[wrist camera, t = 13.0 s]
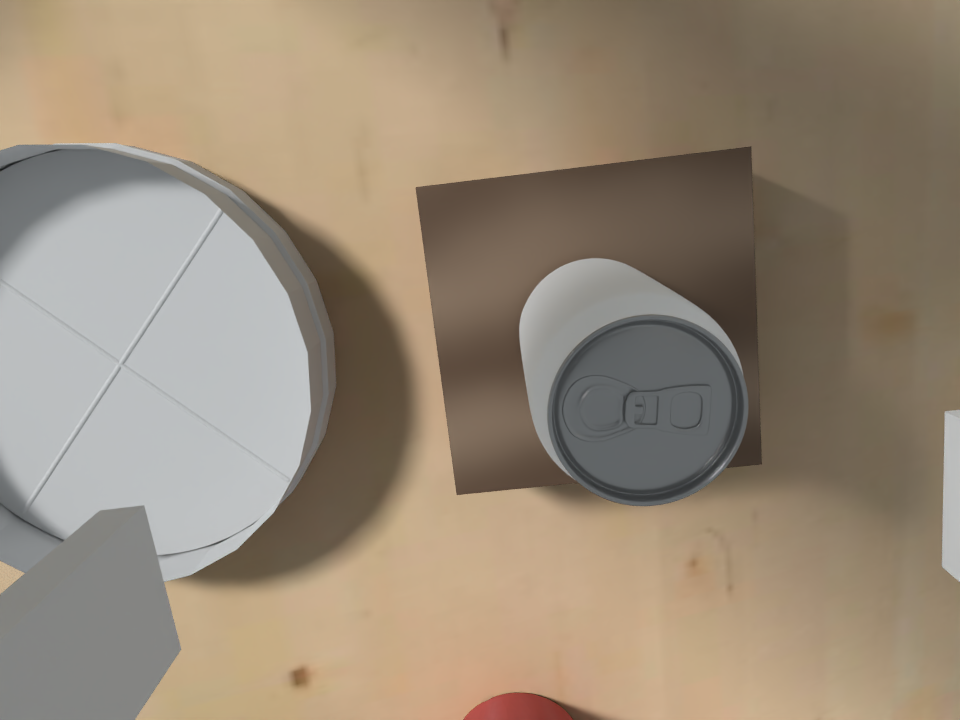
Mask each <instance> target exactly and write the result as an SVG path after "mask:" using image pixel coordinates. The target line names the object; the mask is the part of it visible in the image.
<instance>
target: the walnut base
mask: <svg viewBox="0 0 960 720" xmlns="http://www.w3.org/2000/svg"><path fill="white" fill-rule="evenodd" d="M416 194H417V201H418V209H419V216H420V224H421V231H422V239H423V246H424V254H425V261H426V268H427V276H428V283H429V291H430V298H431V306H432V313H433V321H434V328H435V336H436V343H437V351H438V358H439V366H440V373H441V381H442V388H443V396H444V403H445V411H446V418H447V426H448V433H449V441H450V448H451V456H452V463H453V471H454V478H455V485H456V493H457V495H461V494H471V493H481V492H491V491H501V490H511V489H521V488H531V487H540V486H550V485H560V484H570V483H578V482H577V481H576V480H575V479H573V478H572V477H570V476H569V475H568V474H566V473H565V472H564V471H563V470H562V469H561V468H560V467H559V466H558V465H557V464H556V463H555V462H554V461H553V460H552V458H551V457H550V456H549V454H548V453H547V451H546V450H545V448H544V446H543V445H542V443H541V441H540V439H539V437H538V434H537V432H536V429H535V426H534V423H533V419H532V416H531V411H530V406H529V400H528V394H527V388H526V382H525V376H524V369H523V362H522V355H521V348H520V338H519V325H520V318H521V314H522V311H523V308H524V306H525V304H526V302H527V300H528V298H529V296H530V295H531V293H532V292H533V290H534V289H535V288H536V286H537V285H538V284H539V283H540V282H541V281H542V280H543V279H544V278H545V277H546V276H547V275H549V274H550V273H551V272H553V271H554V270H556V269H558V268H559V267H561V266H563V265H566V264H568V263H571V262H574V261H578V260H582V259H590V258H602V259H610V260H614V261H618V262H621V263H624V264H626V265H629V266H631V267H633V268H635V269H636V270H638V271H640V272H642V273H644V274H645V275H647V276H649V277H650V278H652V279H654V280H656V281H657V282H659V283H661V284H662V285H664V286H666V287H667V288H669V289H671V290H672V291H674V292H675V293H677V294H679V295H680V296H682V297H684V298H685V299H687V300H688V301H690V302H691V303H693V304H695V305H696V306H697V307H699V308H700V309H702V310H703V311H704V312H706V313H707V314H708V315H709V316H710V317H711V318H712V319H714V320H715V321H716V322H717V324H718V325H719V326H720V327H721V328H722V329H723V331H724V332H725V333H726V335H727V336H728V338H729V339H730V341H731V342H732V344H733V346H734V348H735V350H736V352H737V355H738V357H739V360H740V363H741V367H742V371H743V376H744V380H745V383H746V387H747V393H748V419H747V425H746V429H745V433H744V436H743V439H742V441H741V444H740V446H739V448H738V450H737V452H736V454H735V455H734V457H733V458H732V460H731V461H730V463H729V464H728V465H727V467H726V468H729V467H739V466H749V465H759V464H762V459H761V429H760V399H759V369H758V339H757V309H756V279H755V249H754V219H753V189H752V159H751V147H744V148H736V149H727V150H719V151H711V152H703V153H694V154H686V155H678V156H670V157H662V158H653V159H645V160H637V161H629V162H620V163H612V164H604V165H596V166H587V167H579V168H571V169H563V170H554V171H546V172H538V173H530V174H522V175H513V176H505V177H497V178H489V179H480V180H472V181H464V182H456V183H447V184H439V185H431V186H423V187H416Z"/></svg>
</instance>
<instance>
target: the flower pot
mask: <svg viewBox="0 0 960 720" xmlns="http://www.w3.org/2000/svg"><path fill="white" fill-rule="evenodd" d="M463 720H573V719H572V717H571V716H570V715H569V714H568V713H567V712H566V711H565V710H564V709H563V708H562V707H561V706H559V705H558V704H556V703H554V702H553V701H551V700H549V699H546V698H544V697H541V696H538V695H534V694H528V693H508V694H502V695H498V696H496V697H493V698H491V699H489V700H488V701H485V702H482V703H481V704H479V705H477V706H476V707H475V708H474V709H472V710H471V711H470V712H469V713H468V714H467V715H466V717H465V718H464V719H463Z"/></svg>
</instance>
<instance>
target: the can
mask: <svg viewBox="0 0 960 720" xmlns="http://www.w3.org/2000/svg"><path fill="white" fill-rule="evenodd" d="M519 338H520V348H521V355H522V362H523V369H524V376H525V382H526V388H527V394H528V400H529V406H530V411H531V416H532V419H533V423H534V426H535V429H536V432H537V434H538V437H539V439H540V441H541V443H542V445H543V446H544V448H545V450H546V451H547V453H548V454H549V456H550V457H551V458H552V460H553V461H554V462H555V463H556V464H557V465H558V466H559V467H560V468H561V469H562V470H563V471H564V472H565V473H566V474H568V475H569V476H570V477H572V478H573V479H575V480H576V481H577V482H578V483H579V484H581V485H582V486H583V487H585V488H586V489H587V490H589V491H591V492H592V493H594V494H596V495H598V496H600V497H602V498H604V499H607V500H610V501H613V502H616V503H620V504H625V505H632V506H654V505H662V504H667V503H671V502H674V501H677V500H680V499H683V498H685V497H688V496H690V495H692V494H694V493H696V492H697V491H699V490H701V489H702V488H704V487H705V486H707V485H708V484H709V483H710V482H712V481H713V480H714V479H715V478H716V477H717V476H718V475H719V474H720V473H721V472H722V471H723V470H724V469H725V468H726V467H727V465H728V464H729V463H730V461H731V460H732V458H733V457H734V455H735V454H736V452H737V450H738V448H739V446H740V444H741V441H742V439H743V436H744V433H745V429H746V425H747V419H748V393H747V387H746V383H745V380H744V376H743V371H742V367H741V363H740V360H739V357H738V355H737V352H736V350H735V348H734V346H733V344H732V342H731V341H730V339H729V338H728V336H727V335H726V333H725V332H724V331H723V329H722V328H721V327H720V326H719V325H718V324H717V322H716V321H715V320H714V319H712V318H711V317H710V316H709V315H708V314H707V313H706V312H704V311H703V310H702V309H700V308H699V307H697V306H696V305H695V304H693V303H691V302H690V301H688V300H687V299H685V298H684V297H682V296H680V295H679V294H677V293H675V292H674V291H672V290H671V289H669V288H667V287H666V286H664V285H662V284H661V283H659V282H657V281H656V280H654V279H652V278H650V277H649V276H647V275H645V274H644V273H642V272H640V271H638V270H636V269H635V268H633V267H631V266H629V265H626V264H624V263H621V262H618V261H614V260H610V259H602V258H590V259H582V260H578V261H574V262H571V263H568V264H566V265H563V266H561V267H559V268H558V269H556V270H554V271H553V272H551V273H550V274H549V275H547V276H546V277H545V278H544V279H543V280H542V281H541V282H540V283H539V284H538V285H537V286H536V288H535V289H534V290H533V292H532V293H531V295H530V296H529V298H528V300H527V302H526V304H525V306H524V308H523V311H522V314H521V318H520V325H519Z"/></svg>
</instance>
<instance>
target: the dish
mask: <svg viewBox="0 0 960 720" xmlns="http://www.w3.org/2000/svg"><path fill="white" fill-rule="evenodd" d="M335 390H336V367H335V347H334V332H333V329H332V326H331V323H330V320H329V317H328V314H327V310H326V307H325V304H324V301H323V298H322V295H321V292H320V289H319V286H318V283H317V280H316V278H315V277H314V275H313V274H312V272H311V271H310V269H309V267H308V266H307V264H306V263H305V261H304V260H303V258H302V256H301V255H300V253H299V252H298V250H297V249H296V247H295V245H294V244H293V242H292V241H291V239H290V238H289V236H288V234H287V233H286V231H285V230H284V229H283V228H282V227H281V226H280V225H278V224H277V223H276V222H275V221H274V220H273V219H272V218H271V217H270V216H269V215H268V214H267V213H266V212H265V211H264V210H263V209H262V208H261V207H260V206H259V205H258V204H256V203H255V202H254V201H253V200H252V199H251V198H250V197H249V196H248V195H247V194H246V193H245V192H244V191H243V190H241V189H239V188H238V187H236V186H234V185H232V184H230V183H229V182H227V181H225V180H223V179H221V178H220V177H218V176H216V175H214V174H213V173H211V172H209V171H207V170H205V169H204V168H202V167H200V166H198V165H196V164H195V163H193V162H191V161H187V160H183V159H180V158H176V157H172V156H168V155H165V154H161V153H157V152H153V151H150V150H146V149H142V148H138V147H135V146H126V145H120V144H117V143H76V144H53V145H17V146H14V147H10V148H7V149H4V150H1V151H0V561H2V562H4V563H6V564H8V565H10V566H12V567H14V568H16V569H18V570H20V571H22V572H24V573H26V572H27V571H29V570H30V569H31V568H32V567H33V566H34V565H36V564H37V563H38V562H39V561H40V560H42V559H43V558H44V557H45V556H46V555H48V554H49V553H50V552H51V551H52V550H53V549H55V548H56V547H57V546H58V545H59V544H61V543H62V542H63V541H64V540H65V539H66V538H68V537H69V536H70V535H71V534H72V533H74V532H75V531H76V530H77V529H78V528H80V527H81V526H82V525H83V524H84V523H85V522H87V521H88V520H89V519H90V518H91V517H93V516H94V515H95V514H96V513H97V512H99V511H100V510H108V509H116V508H125V507H133V506H142V505H144V506H145V510H146V514H147V518H148V522H149V526H150V530H151V534H152V537H153V541H154V545H155V549H156V553H157V557H158V561H159V565H160V569H161V573H162V576H163V580H164V582H165V581H169V580H173V579H177V578H181V577H185V576H189V575H192V574H194V573H195V572H197V571H199V570H201V569H203V568H204V567H206V566H208V565H210V564H212V563H213V562H215V561H217V560H219V559H221V558H222V557H224V556H226V555H228V554H230V553H231V552H233V551H235V550H237V549H238V548H239V547H240V546H241V545H242V544H243V543H244V542H245V541H246V540H247V539H248V538H249V537H250V536H251V535H252V534H253V533H254V532H255V531H256V530H257V529H258V528H259V527H260V526H261V525H262V524H263V523H264V522H265V521H266V520H267V519H268V518H269V517H270V516H271V515H272V514H273V513H274V512H275V510H276V508H277V507H278V506H279V505H280V504H281V503H282V502H283V501H284V500H285V499H286V498H287V497H288V496H289V495H290V494H291V493H292V492H293V491H294V489H295V488H296V486H297V485H298V483H299V482H300V480H301V479H302V477H303V475H304V473H305V472H306V470H307V468H308V466H309V464H310V462H311V461H312V459H313V457H314V455H315V453H316V451H317V449H318V448H319V446H320V444H321V442H322V440H323V438H324V437H325V435H326V430H327V426H328V421H329V417H330V412H331V408H332V403H333V399H334V394H335Z"/></svg>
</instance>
